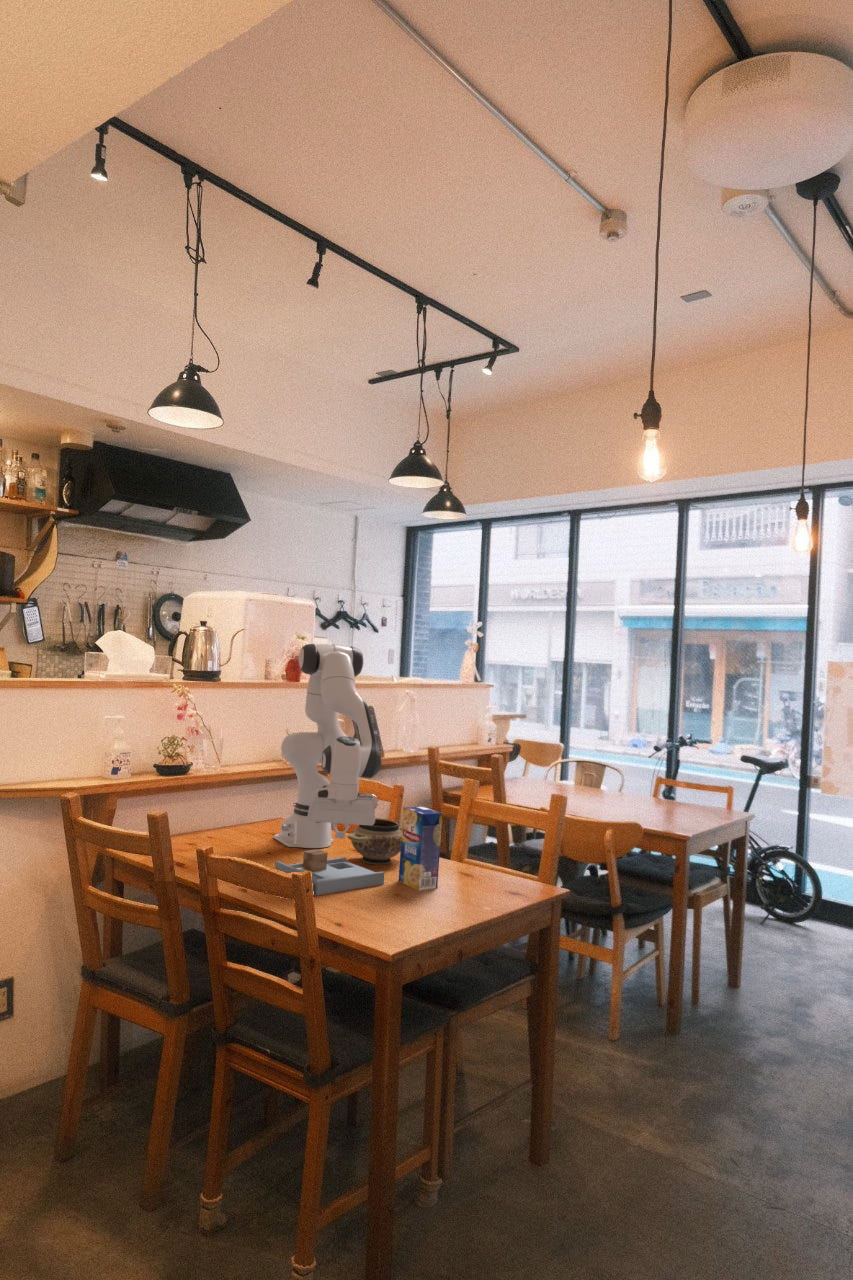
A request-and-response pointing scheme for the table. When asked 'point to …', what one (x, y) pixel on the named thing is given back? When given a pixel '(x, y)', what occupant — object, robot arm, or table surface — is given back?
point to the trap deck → (337, 876)
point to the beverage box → (420, 847)
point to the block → (315, 860)
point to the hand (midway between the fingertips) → (340, 837)
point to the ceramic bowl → (377, 841)
